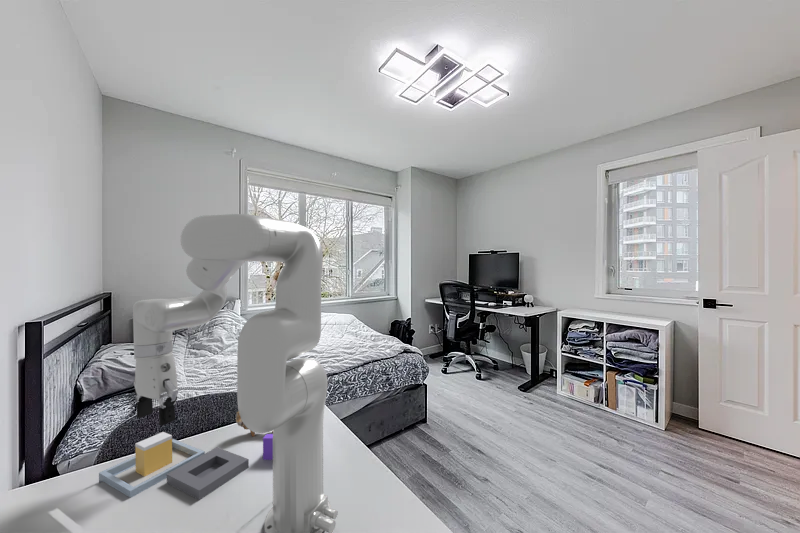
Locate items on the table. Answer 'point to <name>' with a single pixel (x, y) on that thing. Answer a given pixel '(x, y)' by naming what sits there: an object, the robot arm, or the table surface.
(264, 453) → the purple rectangular block
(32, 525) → the table surface
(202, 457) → the block
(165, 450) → the block
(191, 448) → the tray
